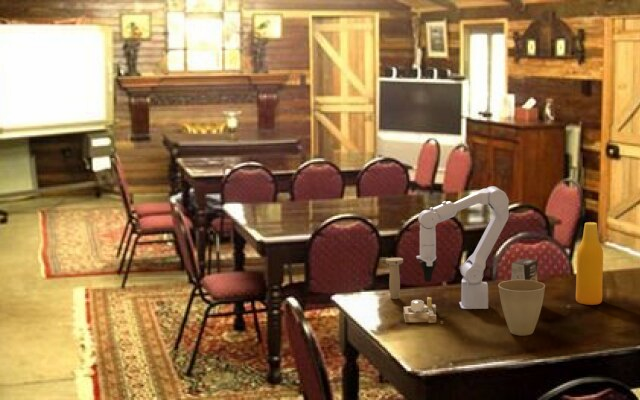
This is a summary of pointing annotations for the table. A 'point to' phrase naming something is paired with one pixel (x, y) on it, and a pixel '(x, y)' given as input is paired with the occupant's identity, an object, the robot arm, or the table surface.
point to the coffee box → (524, 270)
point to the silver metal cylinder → (417, 306)
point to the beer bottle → (589, 267)
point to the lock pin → (429, 306)
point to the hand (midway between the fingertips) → (427, 281)
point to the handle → (394, 276)
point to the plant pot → (521, 304)
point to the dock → (420, 315)
